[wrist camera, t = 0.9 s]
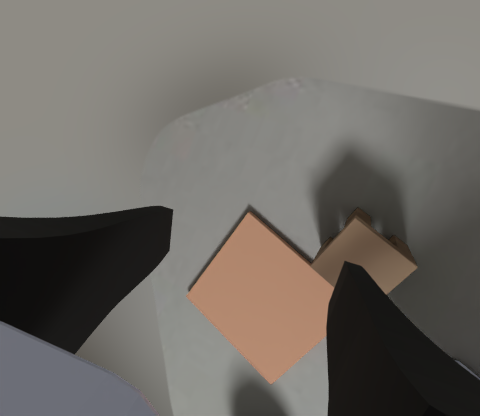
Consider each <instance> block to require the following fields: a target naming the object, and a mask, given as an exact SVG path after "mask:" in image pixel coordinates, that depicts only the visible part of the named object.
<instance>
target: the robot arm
mask: <svg viewBox="0 0 480 416" xmlns="http://www.w3.org/2000/svg"><path fill="white" fill-rule="evenodd" d="M172 216H173V209H169V208H166V207H163V206H150V207H142V208H136V209H130V210H123V211H118V212H110V213H103V214H96V215H87V216H77V217H61V218H17V217H0V416H160V415H159V413H158V412H157V411H156V410H155V408H154V407H153V406H152V405H151V403H150V402H149V401H148V399H147V398H146V397H145V396H144V394H143V393H142V392H141V391H140V390H139V389H138V388H136V387H135V386H133V385H132V384H130V383H129V382H127V381H126V380H124V379H123V378H121V377H120V376H118V375H117V374H115V373H114V372H112V371H109V370H107V369H105V368H103V367H100V366H98V365H96V364H94V363H92V362H90V361H87V360H85V359H83V358H81V357H79V356H76V355H75V353H76V352H77V351H78V350H79V348H80V347H81V346H82V345H83V343H84V342H85V341H86V340H87V338H88V337H89V336H90V335H91V334H92V332H93V331H94V330H95V329H96V328H97V326H98V325H99V324H100V323H101V322H102V321H103V319H104V318H105V317H106V316H107V315H108V314H109V312H110V311H111V310H112V309H113V308H114V307H115V306H116V305H117V304H118V303H119V302H120V301H121V300H122V299H123V298H124V297H125V296H127V295H128V294H129V293H130V292H131V291H132V290H133V289H134V288H135V287H136V286H137V285H138V284H139V283H140V282H142V281H143V280H144V279H145V278H146V277H147V276H148V275H149V274H150V273H151V272H152V271H153V270H154V269H155V268H156V267H157V266H158V265H159V263H160V262H161V261H162V260H163V258H164V257H165V256H166V254H167V253H168V252H169V249H170V238H171V227H172ZM326 335H327V358H328V380H329V401H328V416H480V378H479V377H478V376H477V375H475V374H474V373H473V372H472V371H471V370H470V369H468V368H467V367H466V366H465V365H464V364H462V363H461V362H459V361H457V360H453V359H452V358H451V357H450V356H448V355H447V354H446V353H445V352H444V351H442V350H441V349H440V348H439V347H438V346H436V345H435V344H434V343H433V342H432V341H431V340H430V339H429V338H428V337H427V336H425V335H424V334H423V333H422V332H421V331H420V330H419V329H418V328H417V327H416V326H415V325H414V324H413V323H412V322H411V321H410V320H409V319H408V318H407V317H406V316H405V315H404V314H403V313H402V312H401V311H400V310H399V309H398V308H397V307H396V305H395V304H394V303H393V302H392V301H391V300H390V299H389V298H388V296H387V295H386V294H385V293H384V292H383V291H382V289H381V288H380V287H379V286H378V285H377V283H376V282H375V281H374V280H373V278H372V277H371V276H370V275H369V274H368V272H367V271H366V270H365V269H364V268H363V267H362V266H360V265H357V264H354V263H350V262H347V261H344V264H343V266H342V269H341V272H340V274H339V277H338V280H337V282H336V285H335V288H334V290H333V293H332V296H331V298H330V301H329V304H328V313H327V324H326Z"/></svg>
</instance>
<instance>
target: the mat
mask: <svg viewBox="0 0 480 416" xmlns="http://www.w3.org/2000/svg"><path fill="white" fill-rule="evenodd" d="M310 266H311V263H310V262H308V261H307V260H306V259H305V258H304V257H303V256H302V255H300V254H299V253H298V252H297V251H296V250H295V249H293V248H292V247H291V246H290V245H289V244H288V243H287V242H285V241H284V240H283V239H282V238H281V237H280V236H279V235H277V234H276V233H275V232H274V231H273V230H272V229H270V228H269V227H268V226H267V225H266V224H265V223H264V222H262V221H261V220H260V219H259V218H258V217H257V216H256V215H254V214H253V213H252V212H251V211H250V212H248V213H247V215H246V216H245V217H244V219H243V220H242V222H241V223H240V224H239V226H238V227H237V228H236V230H235V231H234V232H233V234H232V235H231V236H230V238H229V239H228V240H227V242H226V243H225V244H224V246H223V247H222V248H221V250H220V251H219V253H218V254H217V255H216V257H215V258H214V259H213V261H212V262H211V263H210V265H209V266H208V267H207V269H206V270H205V271H204V273H203V274H202V275H201V277H200V278H199V279H198V281H197V282H196V284H195V285H194V286H193V288H192V289H191V290H190V292H189V293H188V294H187V296H186V297H187V298H188V299H189V300H190V301H191V302H192V303H193V304H194V305H195V306H196V307H197V308H198V309H199V310H200V311H201V312H202V314H203V315H204V316H205V317H206V318H207V319H208V320H209V321H210V322H211V323H212V324H213V325H214V326H215V327H216V328H217V329H218V330H219V331H220V332H221V333H222V334H223V335H224V336H225V337H226V339H227V340H228V341H229V342H230V343H231V344H232V345H233V346H234V347H235V348H236V349H237V350H238V351H239V352H240V353H241V354H242V355H243V356H244V357H245V358H246V359H247V360H248V361H249V362H250V364H251V365H252V366H253V367H254V368H255V369H256V370H257V371H258V372H259V373H260V374H261V375H262V376H263V377H264V378H265V379H266V380H267V381H268V382H269V383H270V384H272V383H274V382H275V381H276V380H277V379H278V378H279V377H280V376H281V375H283V374H284V373H285V372H286V371H287V370H288V369H289V368H290V367H292V366H293V365H294V364H295V363H296V362H297V361H298V360H299V359H301V358H302V357H303V356H304V355H305V354H306V353H307V352H308V351H310V350H311V349H312V348H313V347H314V346H315V345H316V344H317V343H319V342H320V341H321V340H322V339H323V338H324V337H325V336H326V324H327V313H328V304H329V301H330V298H331V296H332V293H333V290H334V287H333V286H332V285H331V284H329V283H328V282H327V281H326V280H325V279H324V278H323V277H321V276H320V275H319V274H318V273H317V272H316V271H315V270H313V269H312V268H311V267H310Z"/></svg>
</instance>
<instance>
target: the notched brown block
mask: <svg viewBox="0 0 480 416" xmlns="http://www.w3.org/2000/svg"><path fill="white" fill-rule="evenodd" d="M344 261H347V262H350V263H354V264H357V265H360V266H362V267H363V268H364V269H365V270H366V271H367V272H368V274H369V275H370V276H371V277H372V278H373V280H374V281H375V282H376V283H377V285H378V286H379V287H380V288H381V289H382V291H383V292H384V293H385V294H386V295H387V294H388V293H389V292H390V291H391V290H393V289H394V288H395V287H396V286H397V285H398V284H400V283H401V282H402V281H403V280H404V279H405V278H406V277H408V276H409V275H410V274H411V273H412V272H413V271H415V270H416V269H417V268H418V267H417V264H416V262H415V260H414V258H413V256H412V254H411V252H410V250H409V248H408V246H407V245H406V244H405V243H404V242H402V241H401V240H400V239H399V238H397V237H396V236H395V235H393V236H392V237H391V238H390V239H389V240H387V239H386V238H385V237H383V236H382V235H381V234H380V233H378V232H377V231H376V230H374V229H373V228H372V227H371V217H370V216H369V215H368V214H366V213H365V212H364V211H362V210H361V209H360V208H357V209H356V210H355V211H354V212H353V213H352V214H351V215H350V216H349V217H348V218H347V221H346V224H345V226H344V229H343V230H342V231H341V232H340V233H339V234H338V235H337V236H336V237H335V238H334V239H332V238H331V237H330V238H329V239H328V240H327V241H326V242H325V243H324V244H323V245H322V246H321V248H320V250H319V251H318V253H317V255H316V257H315V258H314V260H313V262H312V264H311V266H310V267H311V268H312V269H313V270H315V271H316V272H317V273H318V274H319V275H320V276H321V277H323V278H324V279H325V280H326V281H327V282H328V283H329V284H331V285H332V286H333V287H334V288H335V285H336V282H337V280H338V277H339V274H340V272H341V269H342V266H343V264H344Z"/></svg>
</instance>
